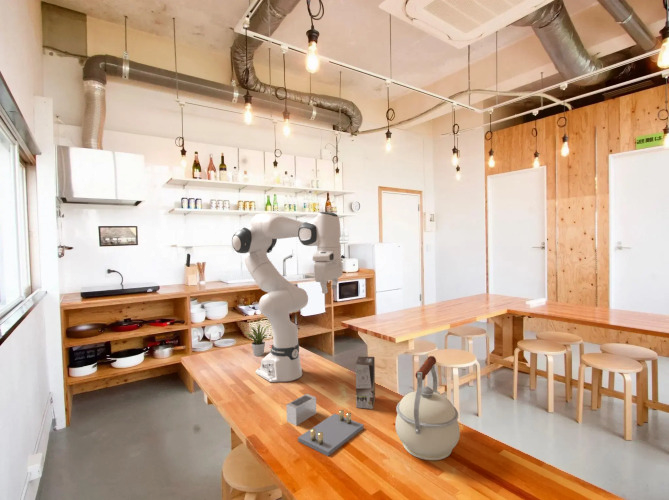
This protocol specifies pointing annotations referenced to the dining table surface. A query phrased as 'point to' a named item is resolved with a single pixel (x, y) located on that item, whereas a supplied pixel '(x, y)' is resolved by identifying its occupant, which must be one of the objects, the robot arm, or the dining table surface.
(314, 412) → the block
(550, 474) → the dining table surface
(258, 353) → the house plant
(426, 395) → the kettle
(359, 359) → the coffee box
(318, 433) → the pin tray
